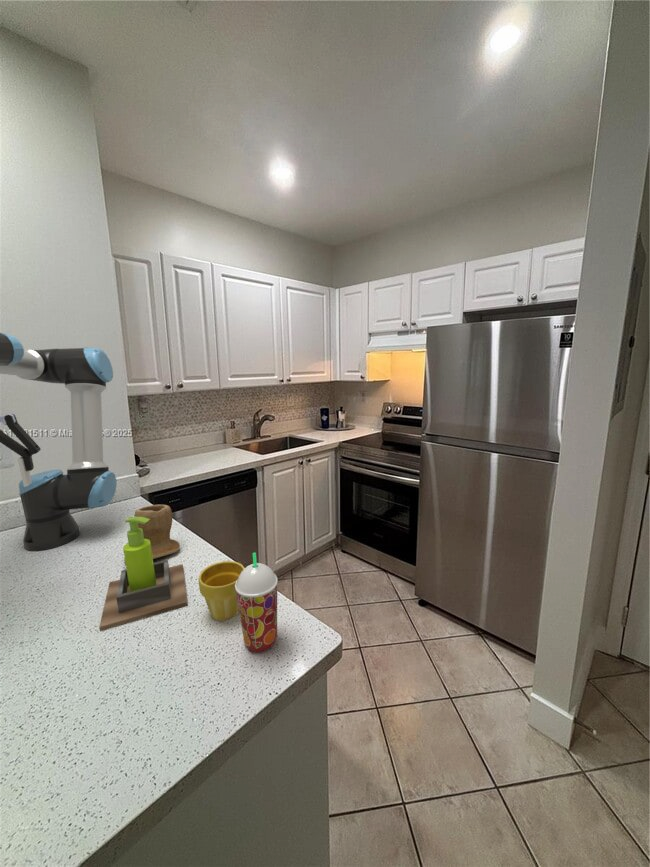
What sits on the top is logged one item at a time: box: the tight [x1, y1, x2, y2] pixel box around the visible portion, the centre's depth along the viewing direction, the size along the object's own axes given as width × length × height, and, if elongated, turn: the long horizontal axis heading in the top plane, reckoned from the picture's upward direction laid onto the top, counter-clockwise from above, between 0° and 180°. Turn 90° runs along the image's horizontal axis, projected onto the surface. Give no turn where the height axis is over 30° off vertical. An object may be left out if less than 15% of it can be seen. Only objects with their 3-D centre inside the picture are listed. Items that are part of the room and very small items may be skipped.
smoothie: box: [235, 552, 279, 653], centre depth 71 cm, size 8×8×20 cm
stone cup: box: [123, 504, 181, 567], centre depth 106 cm, size 15×12×15 cm
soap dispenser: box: [122, 516, 156, 592], centre depth 86 cm, size 6×7×20 cm
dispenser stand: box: [98, 559, 188, 632], centre depth 88 cm, size 18×18×5 cm
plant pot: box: [198, 560, 245, 621], centre depth 81 cm, size 10×10×10 cm
